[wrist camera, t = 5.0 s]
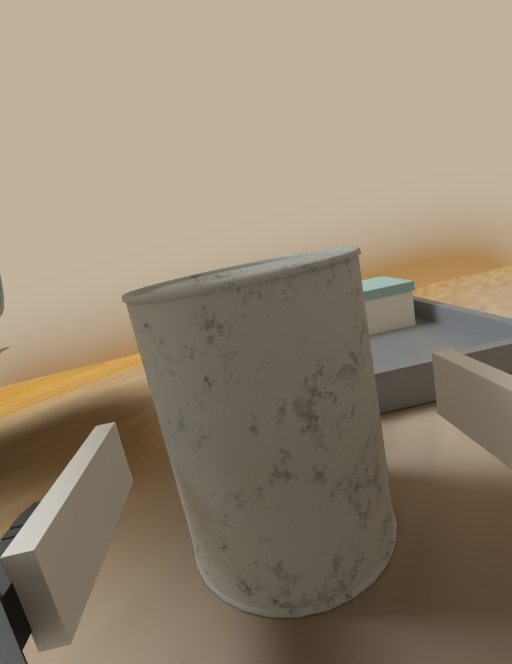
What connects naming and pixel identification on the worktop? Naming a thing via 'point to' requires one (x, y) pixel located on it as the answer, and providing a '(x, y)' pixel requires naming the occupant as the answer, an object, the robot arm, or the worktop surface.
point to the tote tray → (434, 350)
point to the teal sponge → (388, 304)
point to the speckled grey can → (272, 428)
